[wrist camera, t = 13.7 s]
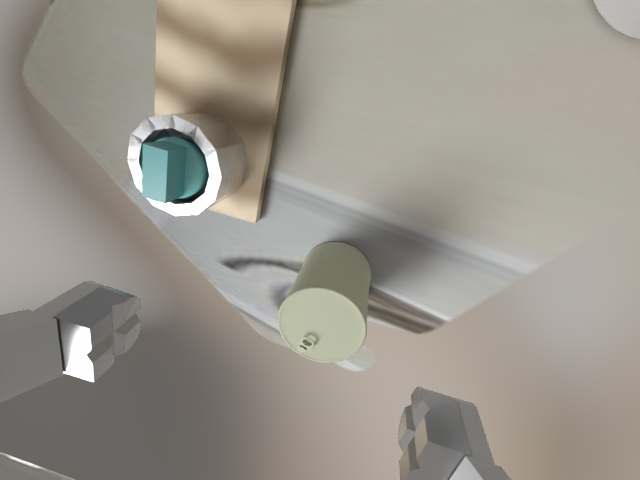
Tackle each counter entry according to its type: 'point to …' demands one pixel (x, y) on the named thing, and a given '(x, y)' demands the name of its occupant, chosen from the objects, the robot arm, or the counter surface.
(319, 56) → the counter surface
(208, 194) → the white thick faceted ring
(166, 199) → the teal disc with post
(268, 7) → the base plate
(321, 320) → the can
